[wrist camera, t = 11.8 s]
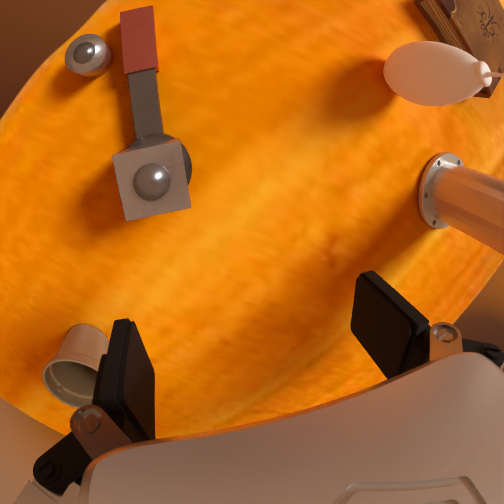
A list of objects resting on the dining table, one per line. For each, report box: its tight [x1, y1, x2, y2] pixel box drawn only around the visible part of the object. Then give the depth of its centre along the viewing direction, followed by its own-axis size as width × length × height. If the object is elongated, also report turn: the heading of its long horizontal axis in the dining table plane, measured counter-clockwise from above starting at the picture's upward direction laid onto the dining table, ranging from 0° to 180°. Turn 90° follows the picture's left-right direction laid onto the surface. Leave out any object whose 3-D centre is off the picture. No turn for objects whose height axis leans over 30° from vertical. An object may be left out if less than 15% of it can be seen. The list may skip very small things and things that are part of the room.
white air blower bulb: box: [383, 41, 504, 106], centre depth 22 cm, size 8×8×18 cm
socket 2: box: [112, 138, 191, 221], centre depth 23 cm, size 5×5×6 cm
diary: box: [414, 0, 504, 98], centre depth 26 cm, size 23×19×6 cm
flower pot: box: [42, 324, 109, 409], centre depth 31 cm, size 9×9×9 cm
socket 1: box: [65, 34, 113, 79], centre depth 20 cm, size 4×4×4 cm
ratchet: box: [120, 6, 192, 185], centre depth 23 cm, size 7×20×6 cm, turn 6°
